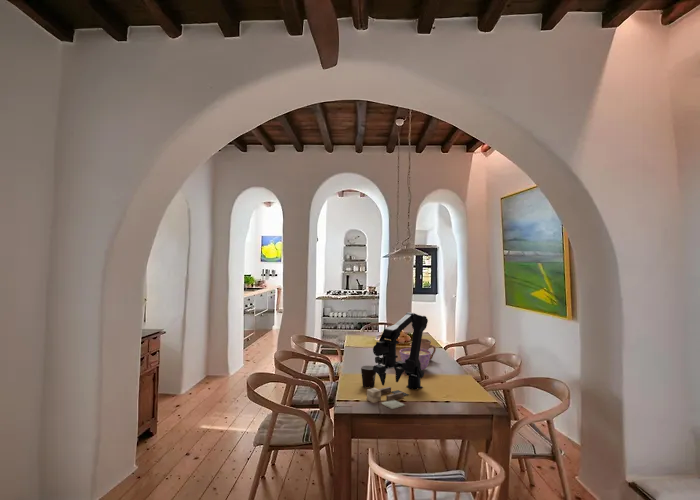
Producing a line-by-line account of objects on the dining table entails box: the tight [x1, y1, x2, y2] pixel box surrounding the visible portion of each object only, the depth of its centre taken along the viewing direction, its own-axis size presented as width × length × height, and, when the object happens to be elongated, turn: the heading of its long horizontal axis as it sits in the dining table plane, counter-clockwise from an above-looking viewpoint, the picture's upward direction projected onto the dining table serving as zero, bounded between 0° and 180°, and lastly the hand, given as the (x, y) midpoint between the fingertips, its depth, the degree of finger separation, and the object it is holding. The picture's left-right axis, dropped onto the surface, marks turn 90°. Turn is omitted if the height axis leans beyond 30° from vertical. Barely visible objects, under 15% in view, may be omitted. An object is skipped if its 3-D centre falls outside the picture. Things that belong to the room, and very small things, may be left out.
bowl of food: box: [399, 347, 432, 371], centre depth 248 cm, size 20×20×12 cm
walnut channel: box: [377, 386, 404, 402], centre depth 199 cm, size 10×11×2 cm
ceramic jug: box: [409, 338, 437, 362], centre depth 271 cm, size 18×14×14 cm
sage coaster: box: [380, 399, 406, 410], centre depth 187 cm, size 8×8×1 cm
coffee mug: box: [360, 364, 377, 389], centre depth 216 cm, size 12×9×10 cm
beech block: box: [366, 387, 382, 404], centre depth 193 cm, size 5×5×5 cm
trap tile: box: [391, 389, 410, 397], centre depth 203 cm, size 5×8×1 cm, turn 35°
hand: (390, 383), depth 199 cm, fingers open, 9 cm apart
